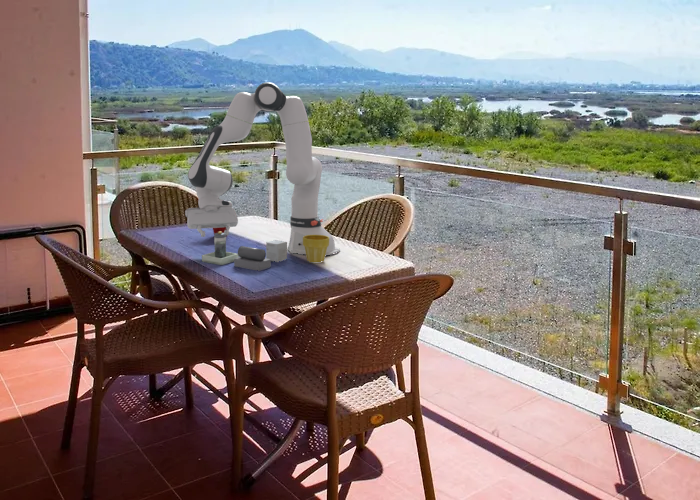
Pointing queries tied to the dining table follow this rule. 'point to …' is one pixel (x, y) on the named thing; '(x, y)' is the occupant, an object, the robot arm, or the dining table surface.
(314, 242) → the plant pot
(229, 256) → the tray
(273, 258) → the product box
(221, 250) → the battery cell
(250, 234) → the dining table surface
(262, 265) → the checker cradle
